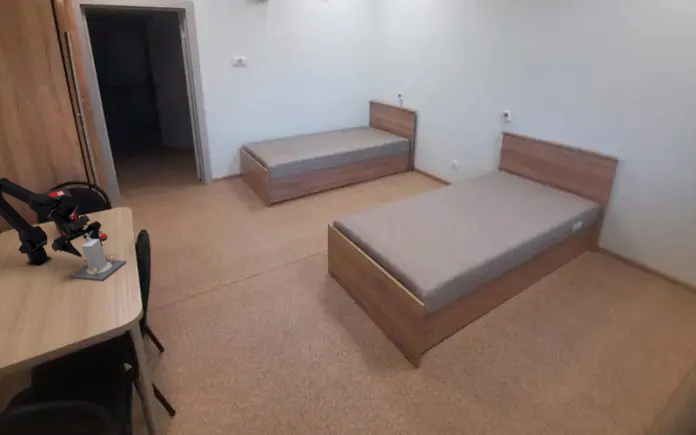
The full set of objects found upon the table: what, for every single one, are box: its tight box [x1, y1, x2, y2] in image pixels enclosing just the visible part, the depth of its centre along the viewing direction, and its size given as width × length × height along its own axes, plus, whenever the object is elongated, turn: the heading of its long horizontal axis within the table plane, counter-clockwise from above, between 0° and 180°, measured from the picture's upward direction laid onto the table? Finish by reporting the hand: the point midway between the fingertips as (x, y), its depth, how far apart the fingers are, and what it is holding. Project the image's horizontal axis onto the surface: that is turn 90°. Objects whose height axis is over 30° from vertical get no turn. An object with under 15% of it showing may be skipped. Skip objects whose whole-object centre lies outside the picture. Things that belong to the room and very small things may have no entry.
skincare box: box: [81, 239, 107, 272], centre depth 162 cm, size 6×4×12 cm
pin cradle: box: [70, 255, 127, 282], centre depth 164 cm, size 14×14×4 cm
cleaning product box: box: [43, 187, 84, 237], centre depth 193 cm, size 16×9×20 cm, turn 43°
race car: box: [82, 230, 108, 242], centre depth 191 cm, size 13×5×4 cm, turn 64°
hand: (91, 251), depth 162 cm, fingers open, 9 cm apart
